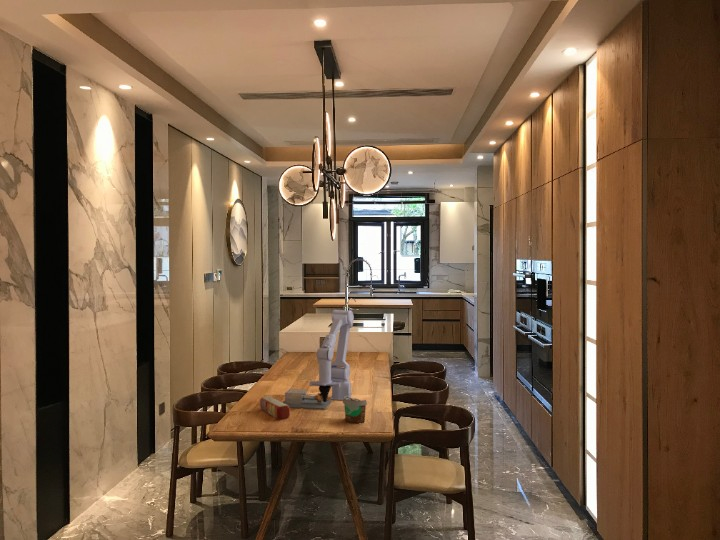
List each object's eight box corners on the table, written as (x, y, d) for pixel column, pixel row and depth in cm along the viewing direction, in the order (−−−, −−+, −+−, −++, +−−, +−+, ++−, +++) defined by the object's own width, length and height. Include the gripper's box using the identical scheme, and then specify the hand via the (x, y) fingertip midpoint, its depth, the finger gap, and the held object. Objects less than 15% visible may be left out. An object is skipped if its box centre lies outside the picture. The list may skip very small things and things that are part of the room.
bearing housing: (306, 400, 270) (306, 389, 270) (301, 405, 262) (301, 393, 262) (290, 400, 272) (290, 388, 272) (285, 404, 264) (285, 392, 264)
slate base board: (331, 402, 271) (331, 400, 271) (324, 409, 257) (324, 408, 257) (288, 399, 275) (288, 398, 275) (279, 407, 261) (278, 405, 261)
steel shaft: (322, 401, 267) (322, 392, 267) (320, 403, 263) (320, 394, 263) (290, 399, 270) (290, 390, 270) (287, 402, 266) (287, 392, 265)
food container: (336, 420, 241) (336, 397, 241) (347, 417, 245) (347, 394, 245) (356, 426, 232) (356, 402, 232) (366, 423, 237) (366, 400, 236)
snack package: (258, 410, 258) (258, 395, 258) (272, 408, 261) (272, 393, 261) (276, 421, 240) (276, 406, 239) (290, 419, 243) (290, 404, 243)
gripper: (307, 374, 261) (307, 402, 262) (338, 375, 259) (338, 404, 259) (311, 371, 268) (311, 399, 269) (341, 372, 266) (341, 400, 266)
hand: (325, 401), depth 264 cm, fingers closed
